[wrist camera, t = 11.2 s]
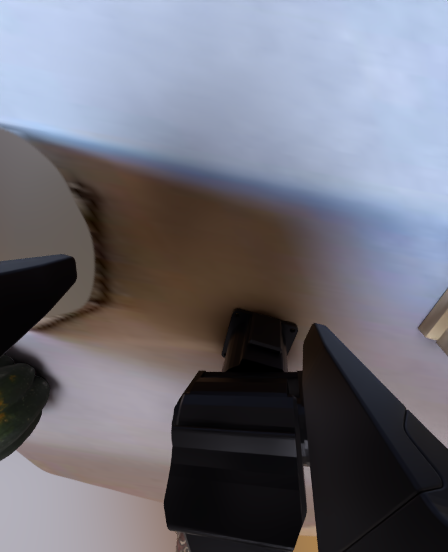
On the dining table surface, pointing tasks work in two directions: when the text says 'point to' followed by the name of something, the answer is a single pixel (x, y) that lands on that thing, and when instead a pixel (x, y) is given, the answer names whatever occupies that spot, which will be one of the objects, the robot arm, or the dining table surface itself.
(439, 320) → the grey metal u-shaped piece
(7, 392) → the squash
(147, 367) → the dining table surface
